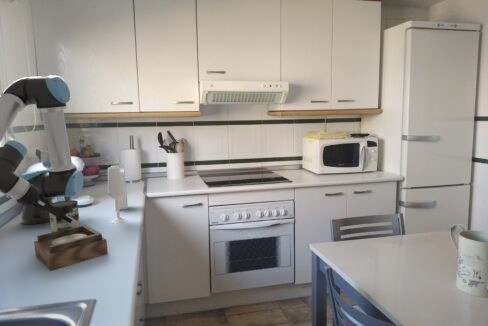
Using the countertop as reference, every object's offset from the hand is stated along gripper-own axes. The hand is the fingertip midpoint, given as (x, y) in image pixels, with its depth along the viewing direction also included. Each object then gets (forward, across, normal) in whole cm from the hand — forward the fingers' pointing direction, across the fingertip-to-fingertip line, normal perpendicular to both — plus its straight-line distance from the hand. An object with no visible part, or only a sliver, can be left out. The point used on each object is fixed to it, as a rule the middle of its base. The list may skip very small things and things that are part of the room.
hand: (71, 222), depth 145 cm
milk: (+27, -27, +18) cm, 42 cm away
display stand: (-1, +20, -9) cm, 21 cm away
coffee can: (+3, 0, -6) cm, 7 cm away
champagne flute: (+19, -6, +11) cm, 23 cm away
